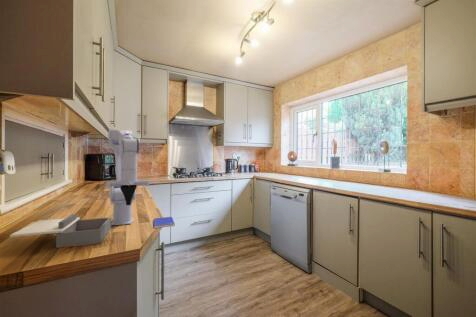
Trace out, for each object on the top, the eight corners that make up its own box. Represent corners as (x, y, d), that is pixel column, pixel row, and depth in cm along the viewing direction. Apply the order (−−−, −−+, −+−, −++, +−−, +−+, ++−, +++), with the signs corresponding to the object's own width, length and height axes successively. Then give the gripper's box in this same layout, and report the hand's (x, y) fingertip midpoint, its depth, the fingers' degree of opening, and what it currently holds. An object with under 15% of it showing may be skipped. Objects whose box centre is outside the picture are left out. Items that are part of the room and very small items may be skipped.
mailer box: (75, 231, 82) (75, 220, 82) (110, 228, 86) (111, 217, 86) (56, 248, 67) (56, 233, 67) (100, 243, 71) (100, 229, 71)
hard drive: (174, 223, 90) (172, 216, 102) (154, 225, 87) (153, 218, 98) (174, 227, 90) (172, 219, 102) (154, 229, 87) (153, 221, 98)
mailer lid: (39, 221, 78) (39, 214, 78) (79, 218, 82) (79, 212, 82) (10, 236, 63) (10, 228, 63) (61, 232, 67) (61, 224, 67)
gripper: (105, 170, 77) (104, 208, 76) (148, 169, 82) (148, 205, 81) (109, 169, 83) (109, 204, 83) (149, 169, 88) (149, 202, 88)
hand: (128, 204), depth 82 cm, fingers closed
